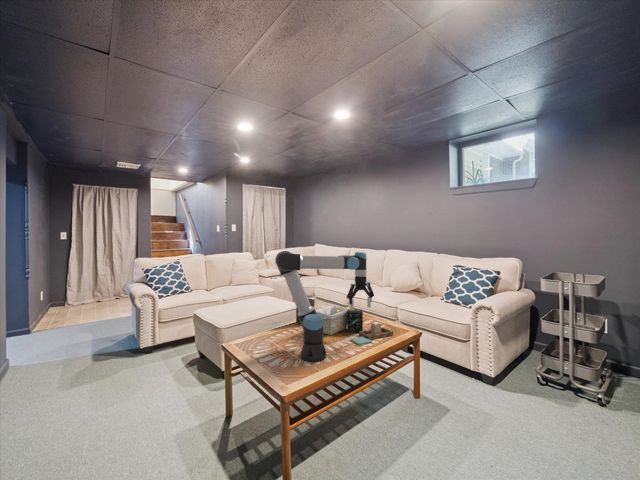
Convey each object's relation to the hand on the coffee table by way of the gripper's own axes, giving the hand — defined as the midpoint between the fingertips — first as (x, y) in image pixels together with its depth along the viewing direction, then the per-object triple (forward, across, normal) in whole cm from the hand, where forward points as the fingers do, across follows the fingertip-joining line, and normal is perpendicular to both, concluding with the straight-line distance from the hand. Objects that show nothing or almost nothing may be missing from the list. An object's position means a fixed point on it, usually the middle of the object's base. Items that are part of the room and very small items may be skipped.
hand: (360, 308), depth 191 cm
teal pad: (+22, 0, 0) cm, 22 cm away
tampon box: (+22, +9, +20) cm, 31 cm away
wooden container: (+22, -15, +56) cm, 62 cm away
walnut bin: (+22, +16, +5) cm, 27 cm away
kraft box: (+21, +16, +5) cm, 27 cm away
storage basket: (+22, -6, +30) cm, 37 cm away
